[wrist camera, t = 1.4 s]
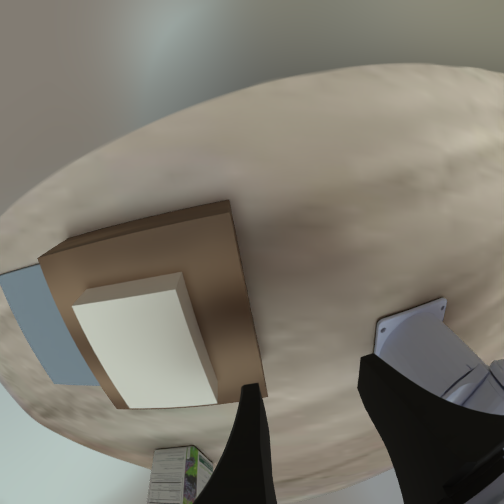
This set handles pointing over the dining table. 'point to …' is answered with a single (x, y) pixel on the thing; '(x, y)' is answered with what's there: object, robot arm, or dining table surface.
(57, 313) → the mat
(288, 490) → the dining table surface
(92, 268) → the block
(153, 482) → the syrup box
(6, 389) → the dining table surface
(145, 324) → the tile
